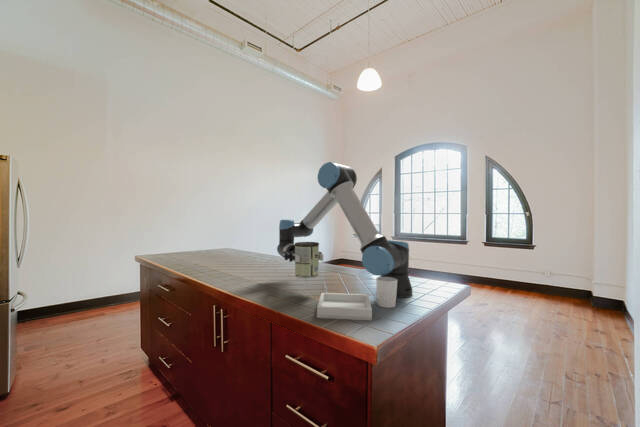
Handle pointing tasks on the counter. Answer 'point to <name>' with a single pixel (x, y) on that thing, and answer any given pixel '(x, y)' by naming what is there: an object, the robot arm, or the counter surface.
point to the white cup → (386, 291)
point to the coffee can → (307, 259)
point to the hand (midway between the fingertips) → (310, 258)
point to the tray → (344, 306)
